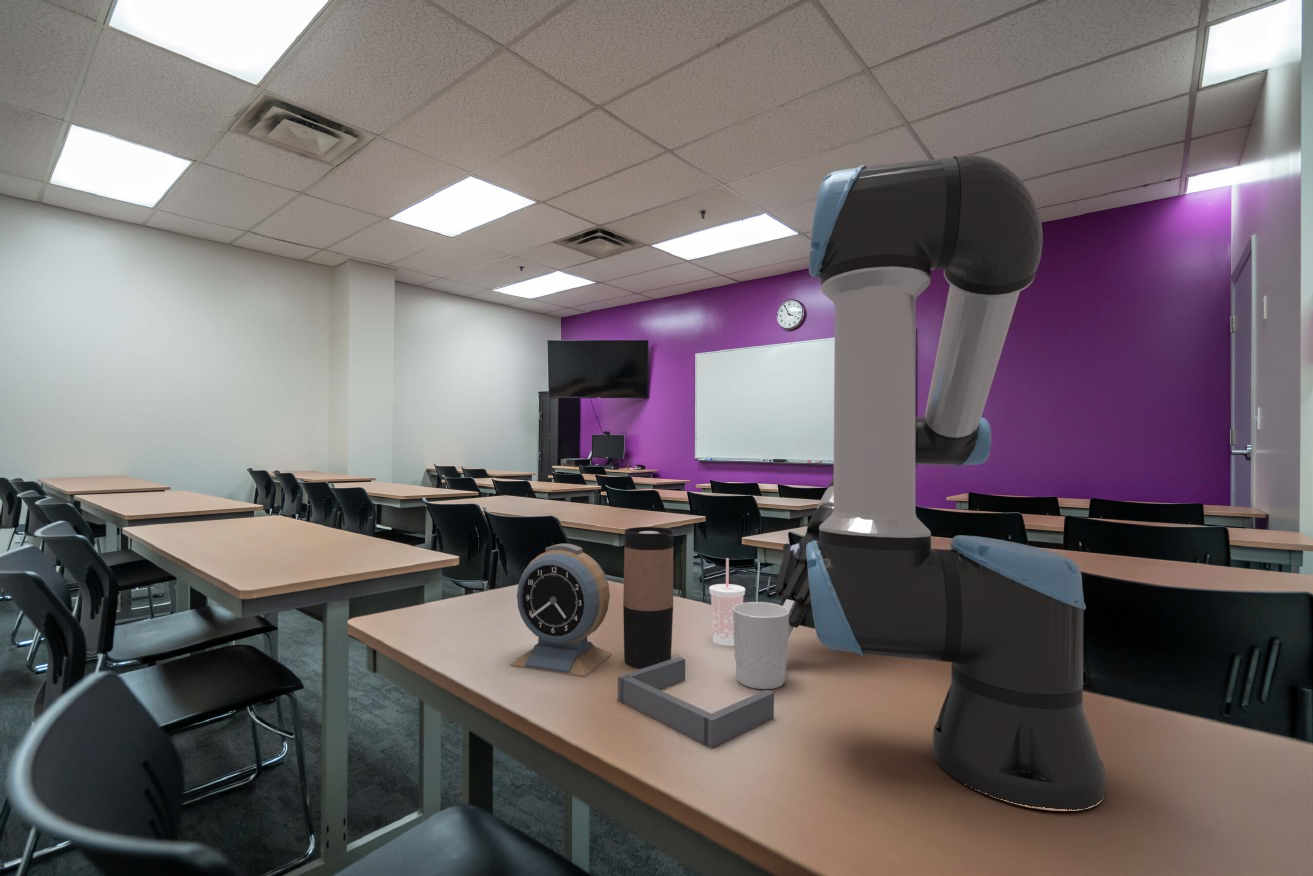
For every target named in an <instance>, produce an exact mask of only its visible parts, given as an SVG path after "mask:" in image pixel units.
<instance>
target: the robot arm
mask: <svg viewBox="0 0 1313 876" xmlns="http://www.w3.org/2000/svg"><path fill="white" fill-rule="evenodd" d="M811 228H812V229H811V237H810V239H811V240H810V247H809V256H808V257H809V258H808V260H809V261H808V273H809V275H810V276H811V277H812V278H815V279H816V280H820V279H821V283H820V284H821V293H822V294H823V295H824V296H825V297H826V298H828V300H830V301H831V302H832V303H833V305H834V356H833V357H834V359H833V360H834V368H833V369H834V376H833V380H834V382H833V383H834V385H833V388H834V389H833V394H834V395H833V476H832V479H831V480H830V483H829V485H828V486H827V488H826V490H825V491H824V494H823V495H822V497H821V499H820V501H819V502H818V504H817V506H816V510H815V511H814V512H813V515H812V516H811V518H810V520H809V522H808V523H807V526H806V532H805V534H804V536H803V537H801V538H800V539H799V540H798V543H796V544H792V545H790V543H788V542H787V543H784V544H783V546H782V550H783V557H782V560H781V563H780V567H779V571H778V576H777V579H776V584H775V587H774V593H775V594H776V596H777V597H778V599H779V600H780V602H779V605H781V606H784V607H786V608H787V609H788V610H789V630H788V639H790V636H791V634H792V633H793V630H794V628H798V627H800V625H801V623H802V620H803V619H804V617H805V615H806V612H808V611H809V610H811V611H812V618H813V623H814V630H815V633H816V637H817V639H818V640H819V641H820V643H821V644H822V645H823V646H824V647H826V648H828V649H830V650H835V651H841V652H848V653H855V654H856V653H857V655H859V656H865V655H870V656H881V657H883V656H884V657H891V658H892V657H893V658H902V659H903V658H905V659H913V660H924V661H936V662H945V663H951V681H950V686H949V687H948V690H947V693H946V696H945V698H944V701H943V704H942V707H941V708H940V712H939V713H938V718H937V721H936V723H935V725H934V727H933V733H932V754H933V757H934V759H935V761H936V763H937V764H938V766H940V768H941V769H943V771H944V772H945V773H947V772H948V773H949V774H950V776H951V777H952V776H953V777H954V778H953V777H952V778H953V779H955V780H956V779H957V780H956V781H958V780H959V781H960V783H961V782H962V783H961V784H963V785H964V784H966V785H967V786H966V785H965V786H966V787H968V786H969V787H968V788H970V787H972V788H973V789H972V788H971V789H972V790H974V789H976V790H979V791H981V792H983V793H987V794H988V795H991V796H993V797H996V798H999V799H1003V800H1007V801H1009V802H1013V803H1017V804H1022V805H1028V806H1031V807H1032V806H1033V807H1034V806H1035V807H1041V808H1042V807H1045V808H1053V809H1054V808H1055V809H1067V810H1069V809H1070V810H1071V809H1072V810H1074V809H1075V810H1077V809H1085V808H1088V807H1090V806H1093V805H1096V804H1097V803H1098V802H1100V801H1101V800H1102V799H1103V797H1104V795H1105V796H1106V770H1105V766H1104V764H1103V761H1102V760H1101V757H1100V754H1099V751H1098V748H1097V745H1096V742H1095V739H1094V735H1093V733H1092V730H1091V727H1090V725H1089V721H1088V719H1087V715H1086V713H1085V709H1084V699H1083V698H1084V695H1083V694H1084V692H1083V691H1084V687H1083V686H1084V620H1085V619H1084V616H1085V615H1084V612H1085V610H1086V603H1085V601H1084V592H1083V591H1084V589H1083V577H1082V576H1083V575H1082V572H1081V569H1080V568H1079V566H1078V565H1077V563H1076V562H1074V560H1072V559H1070V558H1069V557H1067V556H1065V555H1062V554H1060V553H1058V552H1054V551H1051V550H1048V549H1044V548H1041V547H1035V546H1033V545H1032V546H1031V545H1027V544H1023V543H1019V542H1013V541H1008V540H1003V539H997V538H991V537H984V536H977V535H976V536H975V535H964V534H963V535H961V534H960V535H955V536H954V537H953V538H952V541H951V542H950V543H949V547H950V549H948V548H947V549H945V548H944V549H943V548H942V549H941V548H932V534H931V530H930V529H929V528H928V527H927V526H926V525H925V524H924V523H923V522H922V521H921V520H920V519H919V518H918V517H917V514H916V465H925V466H926V465H928V466H930V465H931V466H935V465H936V466H953V467H962V466H974V465H975V466H976V465H977V466H978V465H982V464H984V463H985V462H986V461H988V459H989V457H990V454H991V445H992V430H991V426H990V423H989V420H988V419H986V418H985V417H982V415H983V414H984V413H983V412H984V410H985V406H986V403H987V400H988V397H989V393H990V390H991V388H992V387H991V386H992V383H993V380H994V377H995V374H996V371H997V367H998V363H999V362H1000V359H1001V353H1002V352H1003V348H1004V345H1005V341H1006V338H1007V334H1008V332H1009V328H1010V324H1011V322H1012V319H1013V316H1014V312H1015V308H1016V306H1017V302H1018V298H1019V296H1020V292H1021V291H1024V290H1025V289H1027V288H1028V287H1029V286H1030V285H1031V284H1032V283H1033V281H1034V279H1035V277H1036V273H1037V271H1038V267H1039V264H1040V261H1041V257H1042V250H1043V242H1044V240H1043V237H1044V236H1043V235H1044V234H1043V225H1042V220H1041V216H1040V213H1039V209H1038V207H1037V203H1036V201H1035V198H1034V197H1033V195H1032V193H1031V191H1030V189H1029V188H1028V187H1027V186H1026V184H1025V183H1024V182H1023V181H1022V179H1021V178H1020V177H1019V176H1018V174H1016V173H1015V172H1014V171H1013V170H1011V169H1010V168H1009V167H1007V166H1006V165H1004V164H1002V163H1000V161H997V160H994V159H992V158H989V157H986V156H983V155H982V156H981V155H973V154H962V155H954V156H952V157H944V158H932V159H924V160H914V161H906V162H896V163H887V164H878V165H868V166H867V165H866V164H860V165H859V166H858V167H851V168H847V169H839V170H836V171H835V170H834V171H832V172H830V173H828V174H827V175H826V176H825V177H824V178H823V179H822V181H821V182H820V185H819V188H818V191H817V196H816V202H815V207H814V213H813V222H812V227H811ZM934 270H935V271H936V270H943V276H944V278H945V281H946V282H947V283H948V284H949V290H948V294H947V299H946V306H945V309H944V310H945V311H944V315H943V320H942V326H941V329H940V335H939V341H938V344H937V345H938V347H937V350H936V351H937V352H936V355H935V360H934V365H933V366H934V367H933V371H932V377H931V382H930V387H929V391H928V392H929V393H928V397H927V402H926V407H925V413H924V416H916V301H917V298H918V297H919V296H920V295H921V294H922V293H923V292H924V291H925V290H926V289H927V288H928V287H929V285H930V284H931V278H932V277H931V276H932V275H931V271H934ZM797 560H798V562H797ZM797 563H798V564H797ZM948 773H947V774H948ZM949 774H948V775H949ZM959 781H958V782H959ZM976 790H975V791H976ZM1104 798H1105V797H1104Z"/></svg>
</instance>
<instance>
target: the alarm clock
mask: <svg viewBox="0 0 1313 876" xmlns="http://www.w3.org/2000/svg"><path fill="white" fill-rule="evenodd" d="M583 550H584V549H583V548H582V547H580V546H578V545H575V544H573V543H572V544H571V543H558V544H554V545H550V546H547V547H545V552H542V553H541V554H538V555H537V556H536V557H535V558H534V559H532V560H531V561H530V562H529V563H528V565H527V566H526V568H525V569H524V570H523V573H522V574H521V577H520V579H519V583H518V586H517V593H516V599H517V601H516V602H517V609H518V612H519V614H520V617H521V620H522V621H523V623H524V625H525V626H526V628H527V629H528V630H529V631H531V633H533V635H535V637H537V639H538V640H537V642H538V643H536V644H535V645H534V646H533V648H532V649H530V650H528V651H527V652H526V653H524V654H523V655H521V656H520V657H519V658H517V659H516V660H514V661H513V662H512V663H510V665H509V666H510V667H515V668H521V669H529V670H535V671H541V672H547V673H555V674H561V675H567V676H574V677H579V678H586V677H587V676H589V675H590V674H591V673H592V672H593V671H595V670H596V669H597V668H598V667H599V666H600V665H602V664H603V663H604V662H605V661H607V660H608V658H610V657H611V656H613V653H612V652H610V651H608V650H605V649H603V648H601V647H598V646H595V644H593V643H592V642H591V641H588V636H590V635H591V634H593V633H595V631H597V630H598V629H599V627H600V626H601V624H602V623H603V622H604V620H605V617H606V615H607V613H608V610H609V603H610V595H611V593H610V586H609V581H608V579H607V577H606V573H605V572H604V570H603V569H602V566H601V565H600V564H599V563H598V562H597V561H596V560H595V559H594V558H593V557H591V556H589V554H586V553H585V552H584V551H583Z"/></svg>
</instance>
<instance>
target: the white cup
mask: <svg viewBox="0 0 1313 876" xmlns="http://www.w3.org/2000/svg"><path fill="white" fill-rule="evenodd" d="M733 627H734V645H733V647H734V648H733V649H734V660H735V671H736V672H735V674H736V681H737V682H738V683H739V684H741V685H743V686H745V687H748V688H751V689H758V690H773V689H777V688H780V687H782V686H783V684H785V682H786V663H787V659H788V645H789V638H788V630H789V610H788V609H787V608H786V607H784V606H781V605H780V604H777V603H771V602H766V601H765V602H763V601H748V602H747V601H746V602H743V603H740V604H737V605H735V606H734V607H733Z"/></svg>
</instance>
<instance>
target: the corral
mask: <svg viewBox="0 0 1313 876" xmlns="http://www.w3.org/2000/svg"><path fill="white" fill-rule="evenodd" d="M684 681H686V658H684V657H682V656H677V657H674V658H671V659H670V660H667V661H664V662H661V663H658V664H655V665H652V666H649V667H646V668H643V669H637V670H634V671H630V672H627V673H625V674H622V675H618V676H617V700H618V701H619V702H621V703H623V704H625V705H627V706H629V707H631V708H633V709H635V710H636V711H639V712H641V713H642V714H644V715H646V716H649V717H650V718H652V719H654V720H656V721H658V722H660V723H661V724H664V725H666V726H667V727H669V728H671V729H674V730H676V731H678V732H679V733H681V734H683V735H685V736H687V737H689V738H691V739H693V740H695V741H696V742H699V743H701V744H703V745H704V746H707V748H708V747H709V748H710V749H713V748H715V747H718V746H719V745H721V744H724V743H725V742H727V741H729V740H731V739H733V738H736V737H737V736H739V735H742V734H744V733H745V732H747V731H749V730H751V729H754V728H756V727H758V726H760V725H761V724H764V723H765V722H768V721H771V720H773V719H774V717H775V693H774V692H773V691H771V690H769V689H763V690H762V691H761V692H758V693H756V694H755V693H754V694H753V695H751V696H749V697H746V698H744V699H742V700H739V701H737V702H734V703H732V704H731V705H728V706H725V707H723V708H721V709H718V710H717V711H714V712H712V713H711V712H709V711H707V710H704V709H702V708H700V707H698V706H696V705H693V704H691V703H690V702H688V701H684V700H683V699H680V698H678V697H676V696H673V695H671V694H670V693H667V692H665V691H663V690H662V689H665V688H668V687H671V686H674V685H676V684H679V683H682V682H684Z"/></svg>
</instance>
